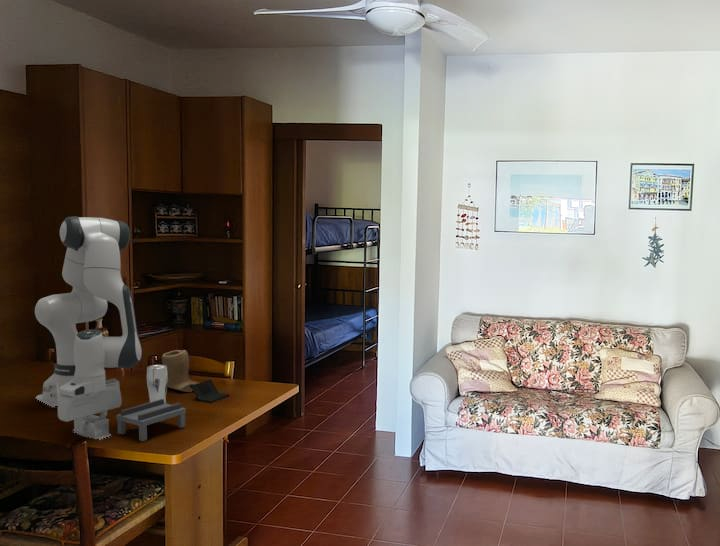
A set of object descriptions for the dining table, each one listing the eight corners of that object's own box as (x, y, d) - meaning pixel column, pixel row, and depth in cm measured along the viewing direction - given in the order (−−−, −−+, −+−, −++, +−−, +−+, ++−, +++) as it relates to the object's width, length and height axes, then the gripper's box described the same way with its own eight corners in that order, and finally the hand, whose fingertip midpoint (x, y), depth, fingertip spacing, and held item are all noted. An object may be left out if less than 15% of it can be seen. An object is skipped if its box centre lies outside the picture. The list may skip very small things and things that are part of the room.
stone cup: (156, 388, 269) (156, 349, 268) (184, 383, 277) (183, 345, 276) (177, 396, 258) (176, 356, 257) (205, 390, 267) (204, 351, 265)
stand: (116, 434, 215) (116, 410, 215) (160, 420, 229) (159, 397, 229) (142, 441, 209) (142, 416, 208) (185, 426, 223) (185, 403, 222)
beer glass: (146, 408, 243) (145, 365, 242) (166, 406, 246) (166, 363, 244) (148, 413, 237) (147, 369, 235) (169, 411, 239) (169, 368, 238)
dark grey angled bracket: (216, 399, 249) (203, 375, 251) (201, 410, 250) (188, 386, 253) (232, 395, 260) (218, 373, 262) (218, 406, 261) (204, 383, 264)
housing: (71, 432, 216) (70, 416, 216) (85, 428, 221) (85, 412, 220) (98, 440, 209) (97, 423, 209) (112, 436, 213) (112, 419, 213)
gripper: (112, 375, 224) (113, 418, 225) (53, 389, 207) (55, 435, 208) (125, 378, 220) (126, 421, 222) (66, 392, 203) (68, 439, 205)
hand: (91, 428), depth 215 cm, fingers closed on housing, 5 cm apart
